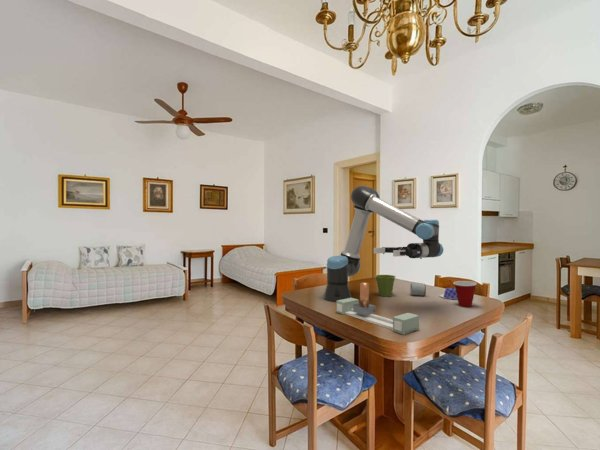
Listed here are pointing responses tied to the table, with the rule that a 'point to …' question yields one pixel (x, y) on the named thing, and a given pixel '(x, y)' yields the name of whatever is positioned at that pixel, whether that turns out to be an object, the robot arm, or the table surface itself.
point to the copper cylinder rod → (364, 301)
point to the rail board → (398, 324)
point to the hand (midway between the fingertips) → (383, 252)
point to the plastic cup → (465, 292)
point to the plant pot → (385, 284)
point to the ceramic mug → (418, 289)
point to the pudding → (450, 293)
